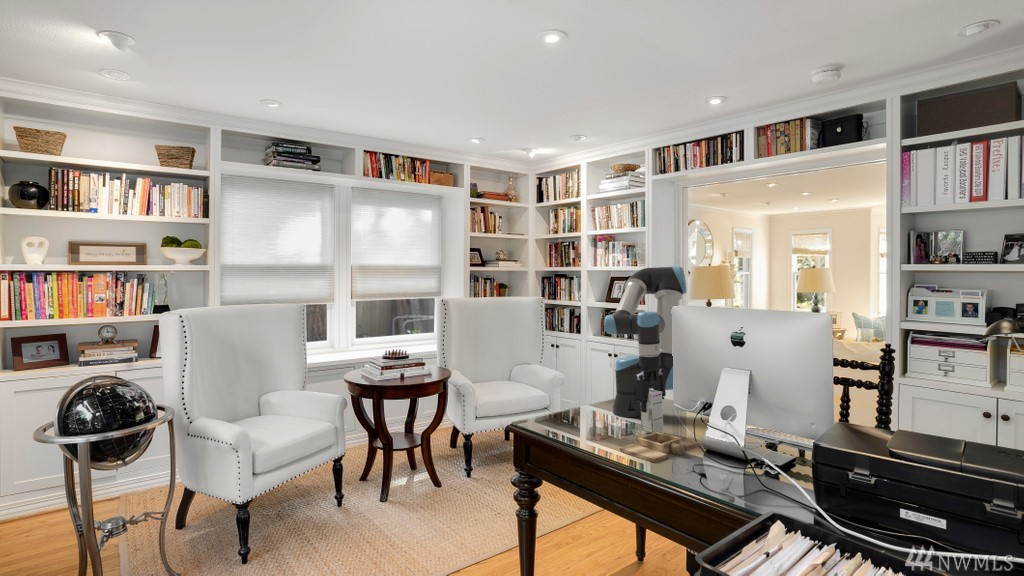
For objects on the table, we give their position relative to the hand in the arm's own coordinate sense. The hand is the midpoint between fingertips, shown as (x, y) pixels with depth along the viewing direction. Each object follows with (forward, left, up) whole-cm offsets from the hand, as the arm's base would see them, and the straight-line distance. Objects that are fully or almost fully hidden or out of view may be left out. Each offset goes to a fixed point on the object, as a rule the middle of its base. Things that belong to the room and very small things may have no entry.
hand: (652, 418), depth 193 cm
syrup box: (0, 0, -5) cm, 5 cm away
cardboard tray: (+11, +12, -5) cm, 17 cm away
